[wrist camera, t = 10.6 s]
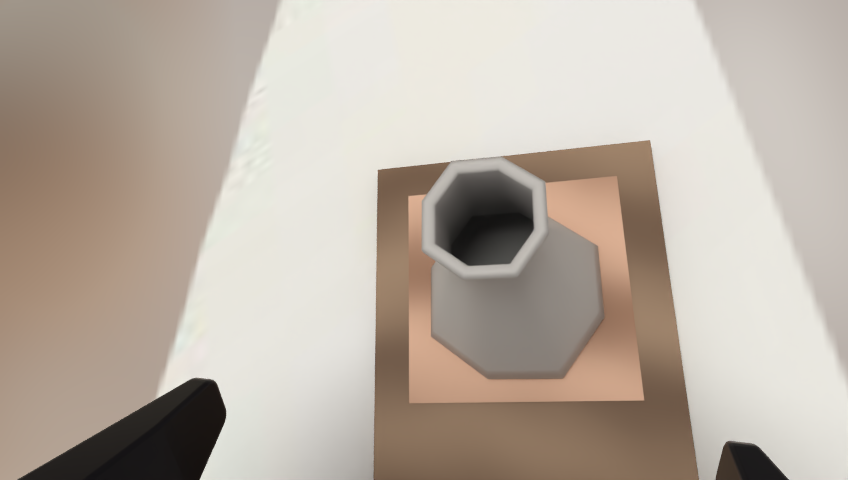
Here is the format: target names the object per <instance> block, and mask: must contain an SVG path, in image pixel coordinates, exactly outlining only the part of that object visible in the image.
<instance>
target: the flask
mask: <svg viewBox="0 0 848 480" xmlns="http://www.w3.org/2000/svg"><path fill="white" fill-rule="evenodd" d="M422 251H423V253H425V254H426V255H428V256H429V257H430V258H432V259H433V260H435V261H436V262H435V263H434V265H433V266H432V268H431V337H432V338H434V339H435V340H436V341H438V342H439V343H440V344H442V345H443V346H444V347H446V348H447V349H448V350H450V351H451V352H452V353H454V354H455V355H456V356H458V357H459V358H460V359H462V360H463V361H464V362H466V363H467V364H468V365H470V366H471V367H472V368H474V369H475V370H476V371H478V372H479V373H480V374H482V375H483V376H484V377H486V378H487V379H563V378H564V376H565V375H566V373H567V372H568V370H569V369H570V367H571V366H572V364H573V363H574V362H575V360H576V359H577V357H578V356H579V354H580V353H581V351H582V350H583V348H584V347H585V345H586V344H587V342H588V341H589V339H590V338H591V336H592V335H593V334H594V332H595V331H596V329H597V328H598V326H599V325H600V323H601V322H602V320H603V319H604V306H603V295H602V284H601V273H600V262H599V251H598V246H597V245H595V244H594V243H592V242H590V241H589V240H587V239H585V238H584V237H582V236H580V235H579V234H577V233H575V232H574V231H572V230H570V229H569V228H567V227H565V226H564V225H562V224H560V223H559V222H557V221H555V220H554V219H552V218H550V217H548V212H547V197H546V184H545V181H543V180H542V179H540V178H538V177H536V176H535V175H533V174H531V173H529V172H528V171H526V170H524V169H522V168H521V167H519V166H517V165H515V164H514V163H512V162H510V161H508V160H507V159H505V158H503V157H491V158H480V159H470V160H459V161H451V162H450V163H449V165H448V166H447V168H446V169H445V170H444V172H443V173H442V174H441V176H440V177H439V178H438V180H437V181H436V183H435V184H434V185H433V187H432V188H431V189H430V191H429V192H428V193H427V195H426V196H425V197H424V199H423V200H422Z"/></svg>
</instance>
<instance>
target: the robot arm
mask: <svg viewBox="0 0 848 480" xmlns="http://www.w3.org/2000/svg"><path fill="white" fill-rule="evenodd" d="M225 419H226V408H225V405H224V402H223V399H222V397H221V394H220V391H219V388H218V385H217V383H216V382H215V381H214V380H211V379H204V378H193V379H191V380H189V381H187V382H185V383H183V384H182V385H180V386H178V387H177V388H175V389H173V390H171V391H170V392H168V393H166V394H165V395H163V396H161V397H159V398H158V399H156V400H154V401H152V402H151V403H149V404H147V405H146V406H144V407H142V408H140V409H139V410H137V411H135V412H133V413H132V414H130V415H129V416H127V417H125V418H123V419H121V420H120V421H118V422H116V423H114V424H113V425H111V426H109V427H108V428H106V429H104V430H102V431H101V432H99V433H97V434H96V435H94V436H92V437H91V438H89V439H87V440H85V441H83V442H82V443H80V444H78V445H76V446H75V447H73V448H71V449H70V450H68V451H66V452H65V453H63V454H61V455H59V456H57V457H56V458H54V459H52V460H51V461H49V462H47V463H45V464H44V465H42V466H40V467H39V468H37V469H35V470H33V471H31V472H30V473H28V474H26V475H25V476H23V477H21V478H19V479H18V480H200V477H201V475H202V473H203V471H204V468H205V466H206V464H207V462H208V459H209V457H210V455H211V452H212V450H213V448H214V446H215V443H216V441H217V439H218V437H219V434H220V432H221V430H222V427H223V425H224V423H225ZM716 480H789V479H788V478H787V477H786V476H785V475H784V474H783V473H782V472H781V471H780V470H779V468H778V467H777V466H776V465H775V464H774V463H773V462H772V461H771V460H770V459H769V457H768V456H767V455H766V454H765V453H764V452H763V451H762V450H761V449H760V448H759V447H758V446H756V445H755V444H751V443H744V442H735V441H728V442H726V443H725V445H724V447H723V451H722V455H721V459H720V463H719V467H718V471H717V475H716Z"/></svg>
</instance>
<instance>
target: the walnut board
mask: <svg viewBox="0 0 848 480" xmlns="http://www.w3.org/2000/svg"><path fill="white" fill-rule="evenodd" d="M501 157H503V158H505V159H507V160H508V161H510V162H512V163H514V164H515V165H517V166H519V167H521V168H522V169H524V170H526V171H528V172H529V173H531V174H533V175H535V176H536V177H538V178H540V179H542V180H543V181H545V184H546V197H547V212H548V217H550V218H552V219H554V220H555V221H557V222H559V223H560V224H562V225H564V226H565V227H567V228H569V229H570V230H572V231H574V232H575V233H577V234H579V235H580V236H582V237H584V238H585V239H587V240H589V241H590V242H592V243H594V244H595V245H597V246H598V251H599V262H600V273H601V284H602V295H603V306H604V319H603V320H602V322H601V323H600V325H599V326H598V328H597V329H596V331H595V332H594V334H593V335H592V336H591V338H590V339H589V341H588V342H587V344H586V345H585V347H584V348H583V350H582V351H581V353H580V354H579V356H578V357H577V359H576V360H575V362H574V363H573V364H572V366H571V367H570V369H569V370H568V372H567V373H566V375H565V376H564V378H563V379H487V378H486V377H484V376H483V375H482V374H480V373H479V372H478V371H476V370H475V369H474V368H472V367H471V366H470V365H468V364H467V363H466V362H464V361H463V360H462V359H460V358H459V357H458V356H456V355H455V354H454V353H452V352H451V351H450V350H448V349H447V348H446V347H444V346H443V345H442V344H440V343H439V342H438V341H436V340H435V339H434V338H432V337H431V268H432V266H433V265H434V263H435V262H436V261H435V260H433V259H432V258H430V257H429V256H428V255H426V254H425V253H423V251H422V200H423V199H424V197H425V196H426V195H427V193H428V192H429V191H430V189H431V188H432V187H433V185H434V184H435V183H436V181H437V180H438V178H439V177H440V176H441V174H442V173H443V172H444V170H445V169H446V168H447V166H448V165H449V163H450V162H446V163H437V164H428V165H419V166H410V167H400V168H391V169H382V170H378V200H377V272H376V344H375V416H374V480H699V478H698V471H697V464H696V457H695V450H694V443H693V436H692V429H691V422H690V415H689V408H688V401H687V394H686V387H685V380H684V373H683V367H682V360H681V353H680V346H679V339H678V332H677V325H676V318H675V311H674V304H673V297H672V290H671V283H670V276H669V269H668V262H667V255H666V248H665V241H664V234H663V227H662V220H661V213H660V206H659V199H658V192H657V185H656V178H655V171H654V164H653V158H652V151H651V144H650V140H648V141H639V142H630V143H621V144H612V145H602V146H593V147H584V148H575V149H566V150H557V151H547V152H538V153H529V154H520V155H511V156H501Z"/></svg>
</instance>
